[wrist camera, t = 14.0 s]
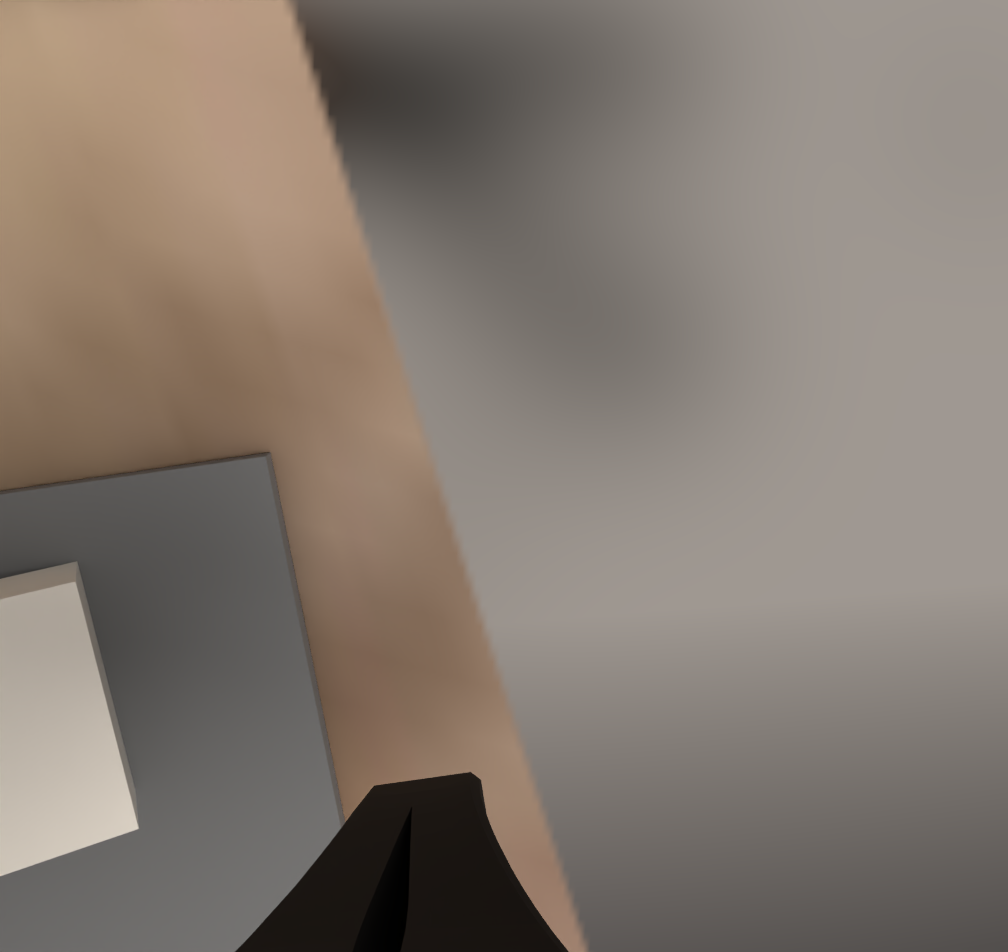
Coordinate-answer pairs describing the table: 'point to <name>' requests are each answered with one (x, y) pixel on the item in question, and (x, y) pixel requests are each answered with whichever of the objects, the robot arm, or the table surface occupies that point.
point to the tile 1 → (56, 725)
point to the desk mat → (183, 709)
